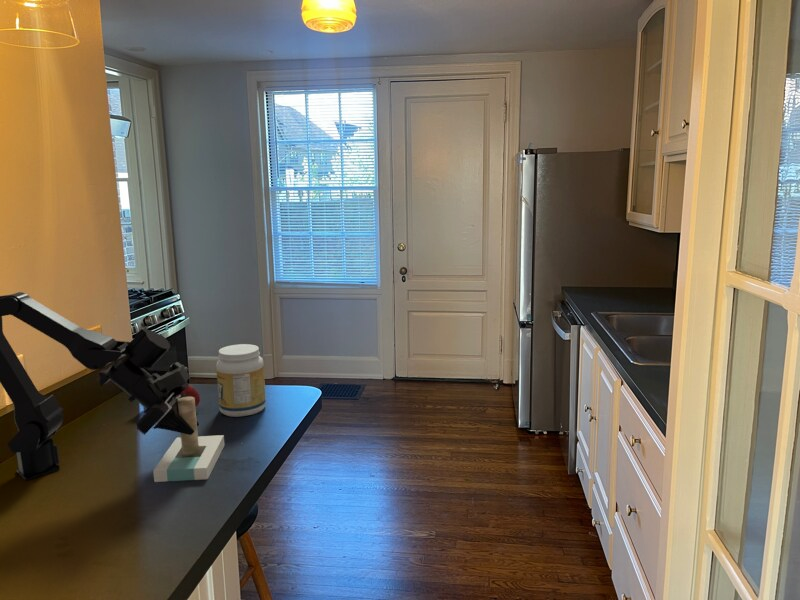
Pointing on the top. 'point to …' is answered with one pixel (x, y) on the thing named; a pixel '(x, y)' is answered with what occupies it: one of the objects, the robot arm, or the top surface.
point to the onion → (192, 394)
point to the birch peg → (189, 415)
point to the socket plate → (189, 460)
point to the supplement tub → (240, 380)
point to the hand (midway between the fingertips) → (195, 429)
